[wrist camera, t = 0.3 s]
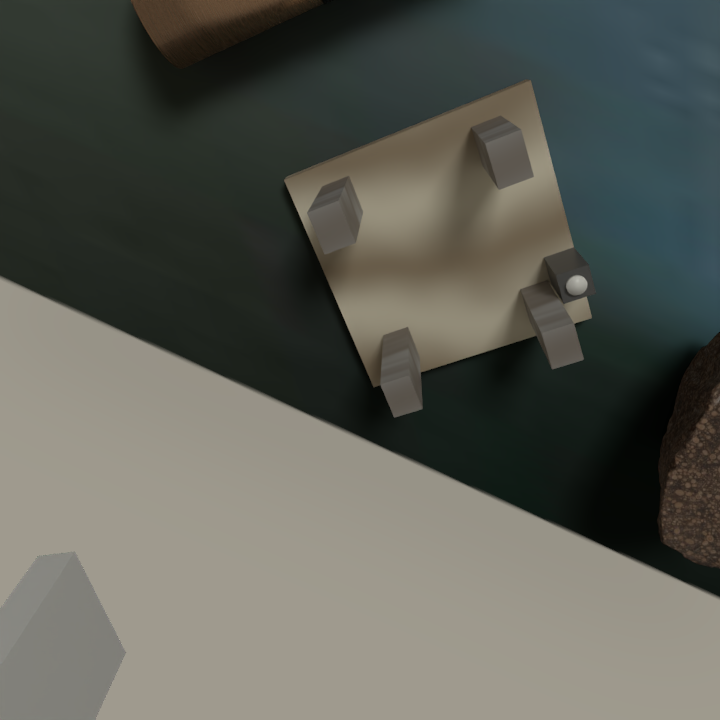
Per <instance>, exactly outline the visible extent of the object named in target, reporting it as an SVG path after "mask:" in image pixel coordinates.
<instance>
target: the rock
mask: <svg viewBox="0 0 720 720" xmlns="http://www.w3.org/2000/svg"><path fill="white" fill-rule="evenodd" d="M658 472H659V482H660V485H661V492H660V511H659V515H658V518H657V523H658V527H659V535H660V540H661V542H662V543H663V544H665V545H667V546H668V547H670V548H671V549H674V550H677V551H679V552H680V553H681V554H683V556H684V557H685V558H687V559H689V560H691V561H693V562H694V563H697V564H700V565H704V566H708V567H716V568H720V332H719V333H718V334H717V335H716V336H715V337H714V338H713V339H712V340H711V341H710V342H709V344H708V345H707V346H705V347H702V348H701V349H700V350H699V351H698V353H697V354H696V356H695V357H694V358H693V360H692V361H691V363H690V365H689V367H688V368H687V369H686V371H685V373H684V375H683V377H682V380H681V382H680V386H679V391H678V393H677V397H676V401H675V406H674V410H673V414H672V417H671V418H670V419H669V423H668V426H667V432H666V433H665V435H664V436H663V439H662V444H661V447H660V458H659V462H658Z"/></svg>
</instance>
